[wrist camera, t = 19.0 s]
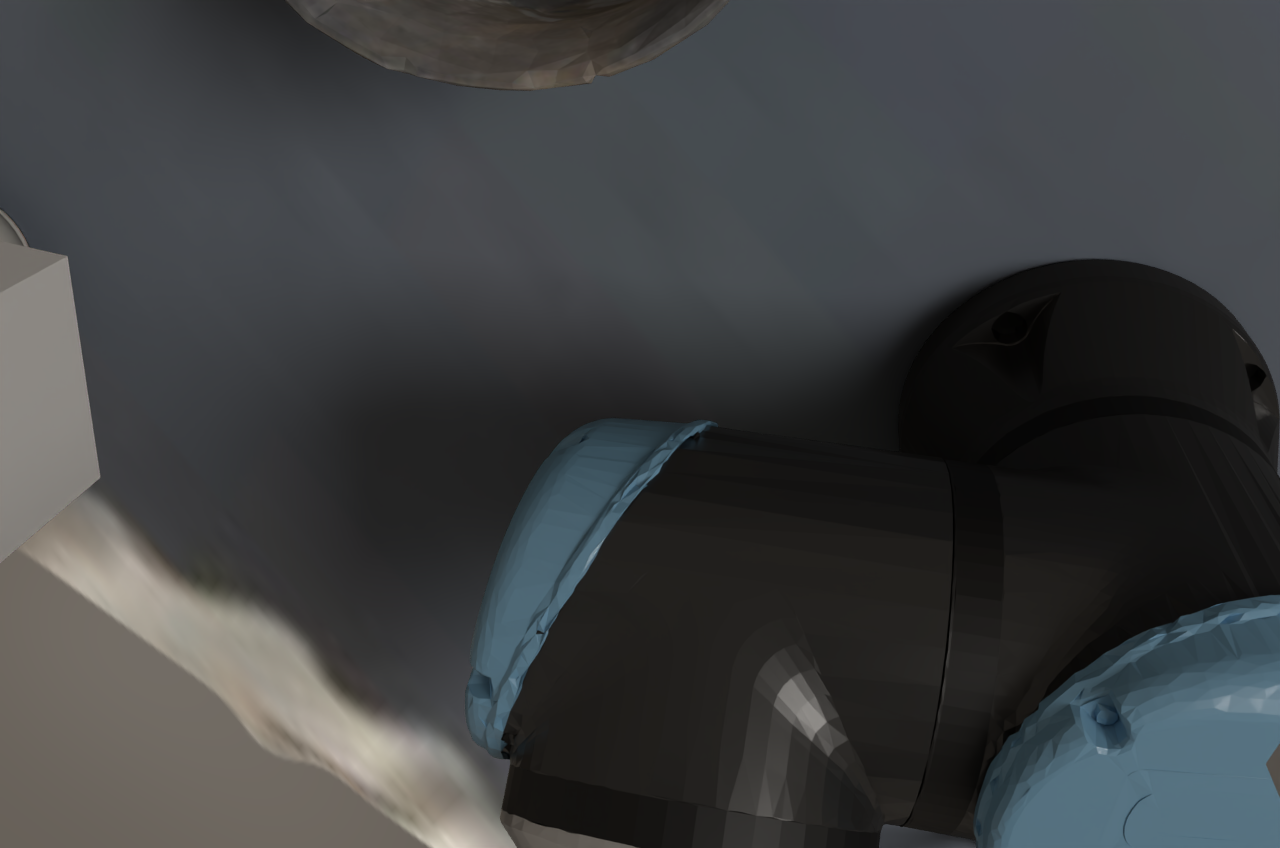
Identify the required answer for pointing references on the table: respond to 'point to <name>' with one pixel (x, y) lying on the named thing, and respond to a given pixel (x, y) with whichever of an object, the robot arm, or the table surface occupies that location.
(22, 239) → the lidded jar
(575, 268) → the table surface
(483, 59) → the dark grey pot
